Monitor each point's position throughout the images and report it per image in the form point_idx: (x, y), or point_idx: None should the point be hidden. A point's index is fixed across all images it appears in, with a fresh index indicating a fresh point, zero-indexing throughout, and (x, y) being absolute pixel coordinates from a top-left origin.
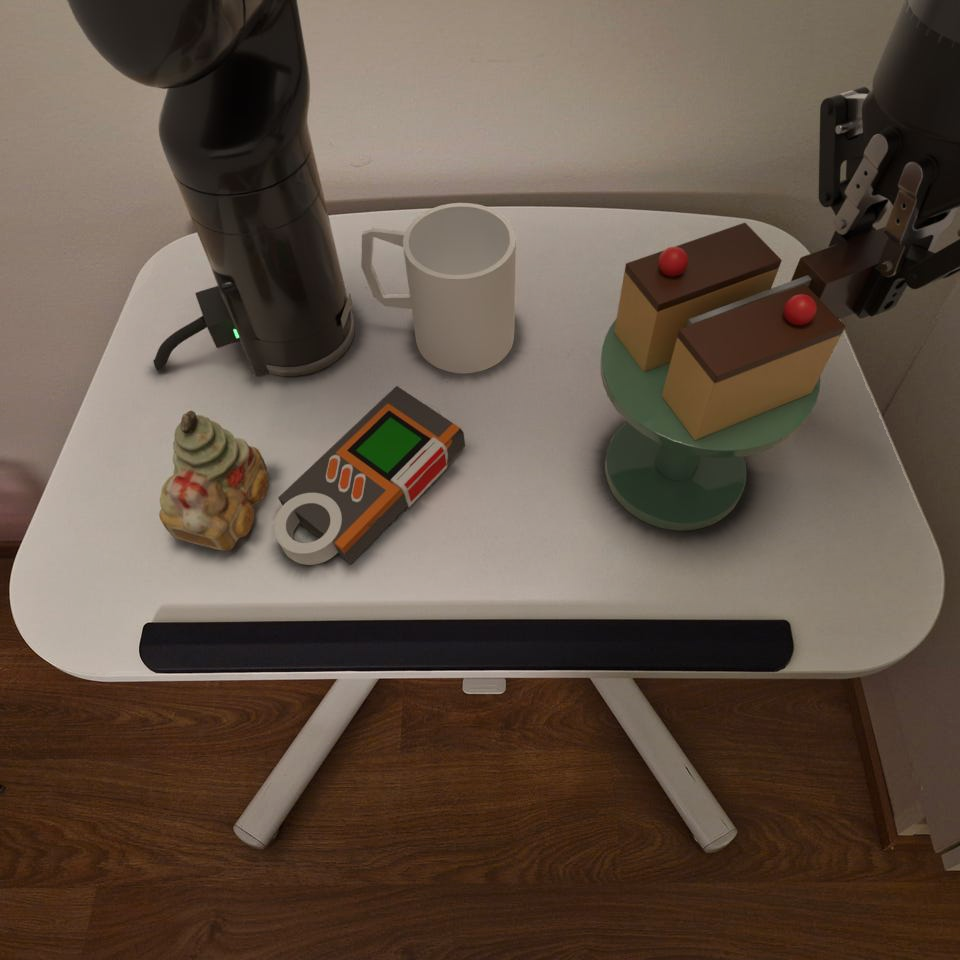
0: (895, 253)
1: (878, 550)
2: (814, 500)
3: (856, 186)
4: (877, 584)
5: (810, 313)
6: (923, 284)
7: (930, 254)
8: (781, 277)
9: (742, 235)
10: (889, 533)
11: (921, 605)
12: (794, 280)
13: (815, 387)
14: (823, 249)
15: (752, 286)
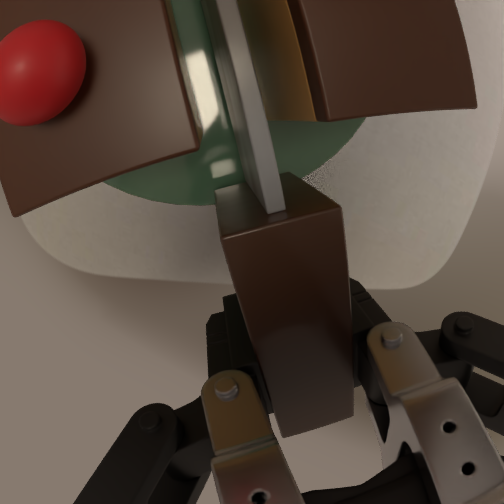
0: (227, 424)
1: (93, 236)
2: (146, 199)
3: (452, 422)
4: (65, 223)
5: None
6: (124, 430)
7: (209, 465)
8: (400, 264)
9: (443, 69)
10: (108, 251)
11: (50, 249)
12: (274, 163)
13: (111, 178)
14: (347, 276)
15: (285, 46)
